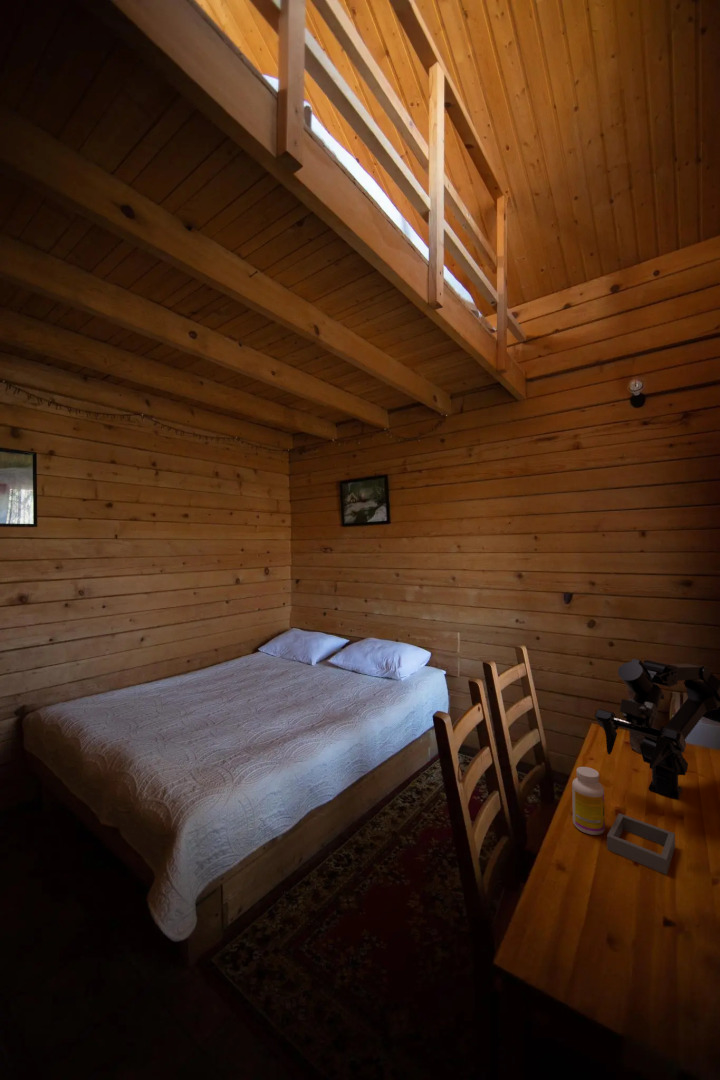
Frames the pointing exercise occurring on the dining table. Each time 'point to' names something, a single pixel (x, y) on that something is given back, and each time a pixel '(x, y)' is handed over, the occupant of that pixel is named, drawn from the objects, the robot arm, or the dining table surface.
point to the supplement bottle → (588, 802)
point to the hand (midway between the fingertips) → (628, 760)
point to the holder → (637, 852)
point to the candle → (635, 736)
